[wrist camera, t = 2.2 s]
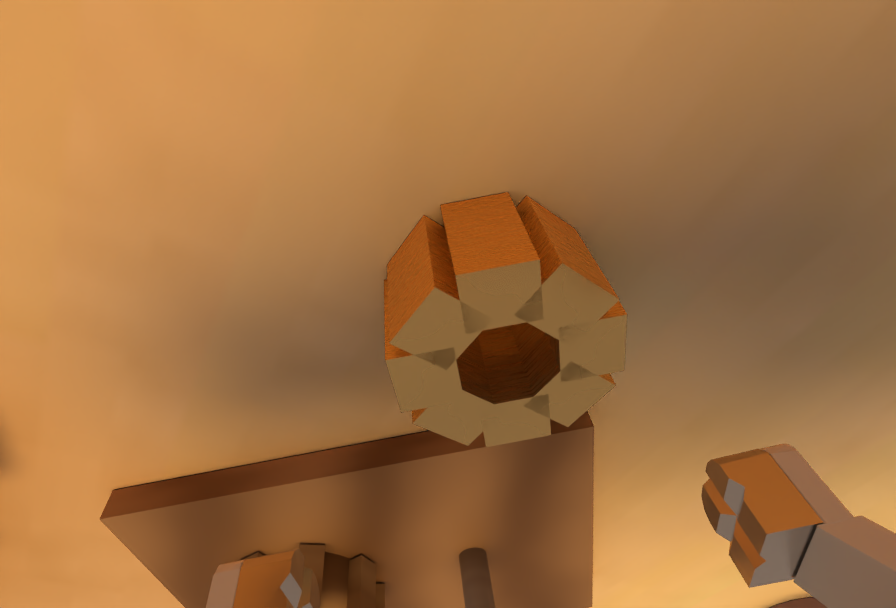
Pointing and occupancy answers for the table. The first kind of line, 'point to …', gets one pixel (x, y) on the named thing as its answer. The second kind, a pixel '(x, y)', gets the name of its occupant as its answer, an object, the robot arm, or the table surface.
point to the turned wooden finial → (801, 603)
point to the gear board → (385, 522)
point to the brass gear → (499, 322)
